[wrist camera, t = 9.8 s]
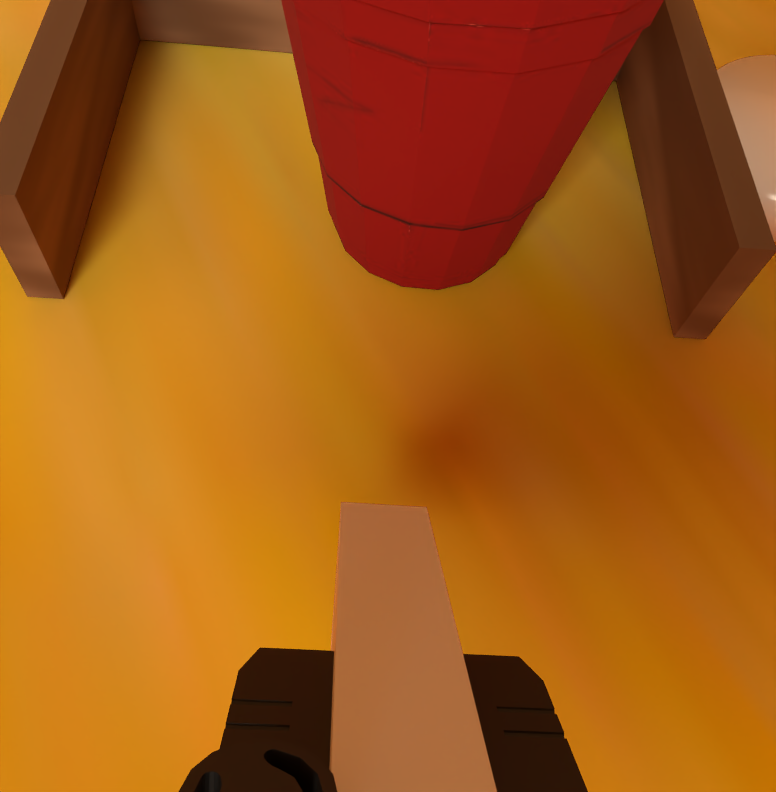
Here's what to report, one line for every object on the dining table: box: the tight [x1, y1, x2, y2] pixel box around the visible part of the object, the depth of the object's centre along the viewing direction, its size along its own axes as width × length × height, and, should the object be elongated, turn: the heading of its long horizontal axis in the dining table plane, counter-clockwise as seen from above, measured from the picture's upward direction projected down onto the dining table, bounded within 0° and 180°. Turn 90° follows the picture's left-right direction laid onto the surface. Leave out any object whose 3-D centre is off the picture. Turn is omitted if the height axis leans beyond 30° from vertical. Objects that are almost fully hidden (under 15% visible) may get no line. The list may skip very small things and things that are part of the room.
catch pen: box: [0, 0, 776, 339], centre depth 23 cm, size 20×13×4 cm, turn 89°
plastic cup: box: [281, 0, 664, 290], centre depth 19 cm, size 11×11×12 cm
